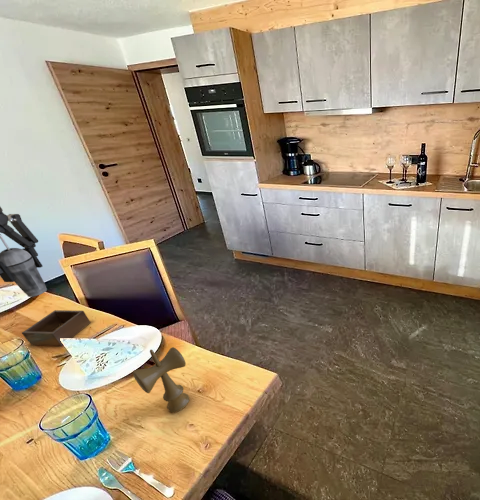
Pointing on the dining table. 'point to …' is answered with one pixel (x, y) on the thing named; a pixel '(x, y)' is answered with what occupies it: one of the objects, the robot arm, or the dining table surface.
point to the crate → (44, 327)
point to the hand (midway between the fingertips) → (24, 273)
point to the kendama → (164, 379)
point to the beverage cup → (23, 270)
